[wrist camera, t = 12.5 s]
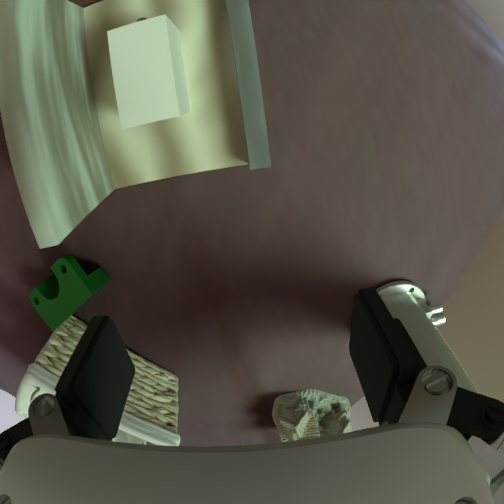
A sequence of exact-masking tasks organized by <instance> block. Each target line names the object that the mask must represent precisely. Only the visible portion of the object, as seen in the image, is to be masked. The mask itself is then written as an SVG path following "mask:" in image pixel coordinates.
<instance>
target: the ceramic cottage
mask: <svg viewBox="0 0 504 504" xmlns="http://www.w3.org/2000/svg"><path fill="white" fill-rule="evenodd" d="M273 404H274V405H273V409H272V418H273V421H274V423H275V425H277V429H278V433H279V436H280V439H281V442H288V441H296V440H304V439H311V438H317V437H323V436H330V435H336V434H341V433H347V432H352V431H353V430H352V426H351V421H350V420H349V417H350V414H351V406H350V402H349V400H348V399H347V398H346V397H342V396H338V395H334V394H330V393H326V392H322V391H318V390H315V389H302V390H297V391H295V392H292V393H287V394H282V395H280V396H278V397H277V398H276V399H275V400H274V403H273Z"/></svg>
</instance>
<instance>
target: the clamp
mask: <svg viewBox="0 0 504 504" xmlns="http://www.w3.org/2000/svg"><path fill="white" fill-rule="evenodd" d="M50 269H51V270H52V271H53V272H54V275H53V276H51V277H50V278H48V279H46V280H45V281H43V282H42V283H40V284H38V285H37V286H36V287H35V288H34V289H33V291H32V292H31V293H30V301H31V304H32V305H33V307H34V308H35V310H36V311H37V312H38V314H39V315H40V316H41V318H42V319H43V320H44V322H45V323H46V324H47V326H48V327H49V328H50V329H51V331H52V332H53V331H54V330H55V329H56V328H58V327H59V326H60V325H61V324H62V323H63V322H64V321H66V320H67V319H68V318H69V317H70V316H71V315H72V314H74V313H75V312H76V311H77V310H78V309H79V308H80V307H81V306H82V305H83V304H84V303H85V302H86V301H88V300H89V299H90V298H91V297H92V296H93V295H94V294H95V293H96V292H97V291H99V290H100V289H101V288H102V287H103V286H104V285H105V284H106V283H107V282H109V281H110V278H109V277H108V276H107V274H106V273H105V272H104V270H103V269H102V268H101V267H100V268H98V269H97V270H95V271H94V272H92V273H91V274H89V275H88V276H87V274H86V273H85V272H84V270H83V269H82V268H81V266H80V265H79V264H78V262H77V261H76V259H75V258H74V257H73V256H72V255H64V256H63V257H61V258H59V259H57V261H56V262H55V263H54V264H53V265H52V267H51V268H50Z"/></svg>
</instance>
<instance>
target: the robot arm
mask: <svg viewBox="0 0 504 504" xmlns="http://www.w3.org/2000/svg"><path fill="white" fill-rule="evenodd" d="M442 309H443V308H442V305H441V304H437V305H433V306H431V307H430V306H428V305H427V304H426V300H425V296H424V293H423V292H422V290H421V289H420V288H419V287H418V286H417V285H416V284H414V283H412V282H409V281H395V282H391V283H388V284H385V285H383V286H381V287H379V288H377V289H375V288H367V289H360V290H359V292H358V294H355V295H354V302H353V314H352V324H351V334H350V343H349V351H350V355H351V358H352V361H353V364H354V366H355V369H356V372H357V375H358V378H359V380H360V383H361V386H362V389H363V392H364V395H365V398H366V401H367V403H368V406H369V409H370V412H371V415H372V418H373V421H374V422H379V425H380V426H378V427H373V428H367V429H362V430H357V431H352V432H347V433H341V434H336V435H330V436H323V437H317V438H311V439H304V440H296V441H288V442H279V443H268V444H256V445H240V446H208V447H194V446H162V445H146V444H134V443H124V442H116V441H112V439H113V438H115V437H116V435H117V432H118V428H119V425H120V421H121V418H122V414H123V411H124V407H125V404H126V401H127V397H128V394H129V391H130V388H131V384H132V381H133V378H134V375H135V366H134V364H133V362H132V360H131V358H130V356H129V354H128V352H127V350H126V347H125V345H124V343H123V341H122V339H121V337H120V335H119V333H118V330H117V328H116V326H115V324H114V322H113V320H112V319H109V317H108V316H94V317H93V318H92V319H91V321H90V323H89V325H88V326H87V328H86V330H85V332H84V333H83V335H82V337H81V339H80V341H79V342H78V344H77V346H76V348H75V350H74V352H73V354H72V355H71V357H70V359H69V361H68V363H67V365H66V367H65V369H64V371H63V373H62V375H61V377H60V379H59V381H58V383H57V385H56V387H55V389H54V390H55V391H56V394H55V396H54V395H53V394H49V393H44V394H41V395H39V396H37V397H36V398H35V399H34V400H33V401H32V402H31V404H30V405H29V409H28V415H29V417H28V418H26V419H25V420H23V421H21V422H19V423H18V424H16V425H14V426H12V427H11V428H9V429H7V430H5V431H4V432H2V433H1V434H0V504H504V403H502V402H501V401H499V400H496V399H493V398H490V397H487V396H484V395H481V394H480V393H479V392H478V390H477V389H476V387H475V386H474V384H473V383H472V381H471V380H470V378H469V377H468V375H467V374H466V372H465V370H464V369H463V367H462V366H461V364H460V362H459V361H458V359H457V358H456V356H455V355H454V353H453V352H452V350H451V349H450V347H449V346H448V344H447V343H446V341H445V340H444V338H443V337H442V335H441V334H440V332H439V331H438V330H437V328H436V327H435V326H438V325H441V324H444V323H445V315H444V314H443V313H440V312H442ZM436 313H438V314H436ZM432 314H435V315H432ZM431 315H432V316H431Z"/></svg>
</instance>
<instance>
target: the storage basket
mask: <svg viewBox="0 0 504 504" xmlns="http://www.w3.org/2000/svg"><path fill="white" fill-rule="evenodd" d="M87 326H88V325H86V324H85V323H84V322H82V321H81V320H78V319H77V318H75V317H74V316H72V315H71V316H70V317H69V318H68V319H67V320H66V321H64V322H63V323H62V324H61V325H60V326H59V327H58V328H56V329H55V330H54V332H53V333H52V335H51V337H50V338H49V340H48V341H47V343H46V344H45V346H44V347H43V348H42V350H41V351H40V354H38V355H37V357H36V359H35V361H34V363H32V364H30V365H29V366H28V369H27V372H26V374H25V376H24V378H23V379H22V381H21V384H20V386H19V389H18V392H17V395H16V401H15V411H16V412H17V414H19V415H20V416H23V417H24V418H28V417H29V415H28V409H29V405H30V404H31V402H32V401H33V400H34V399H35V398H36V397H37V396H39V395H41V394H44V393H49V394H53V395H54V396H55V394H56V391H55V390H54V389H55V387H56V385H57V383H58V381H59V379H60V377H61V375H62V373H63V371H64V369H65V367H66V365H67V363H68V361H69V359H70V357H71V355H72V354H73V352H74V350H75V348H76V346H77V344H78V342H79V341H80V339H81V337H82V335H83V333H84V332H85V330H86V328H87ZM126 350H127V352H128V354H129V356H130V358H131V360H132V362H133V364H134V366H135V375H134V378H133V381H132V384H131V388H130V391H129V394H128V397H127V401H126V404H125V407H124V411H123V414H122V418H121V421H120V425H119V428H118V432H117V435H116V437H115V438H113V439H112V441H116V442H124V443H134V444H146V441H148V442H151V443H154V444H155V445H162V446H178V445H179V443H180V436H179V435H178V433H177V418H178V415H177V413H178V404H177V401H178V394H177V392H178V377H177V376H176V375H174V374H172V373H170V372H168V371H167V370H165V369H163V368H161V367H159V366H157V365H155V364H154V363H152V362H149V361H147V360H145V359H143V358H142V357H141V356H138V355H136V354H135V353H133V352H131V351H129V350H128V349H127V348H126Z"/></svg>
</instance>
